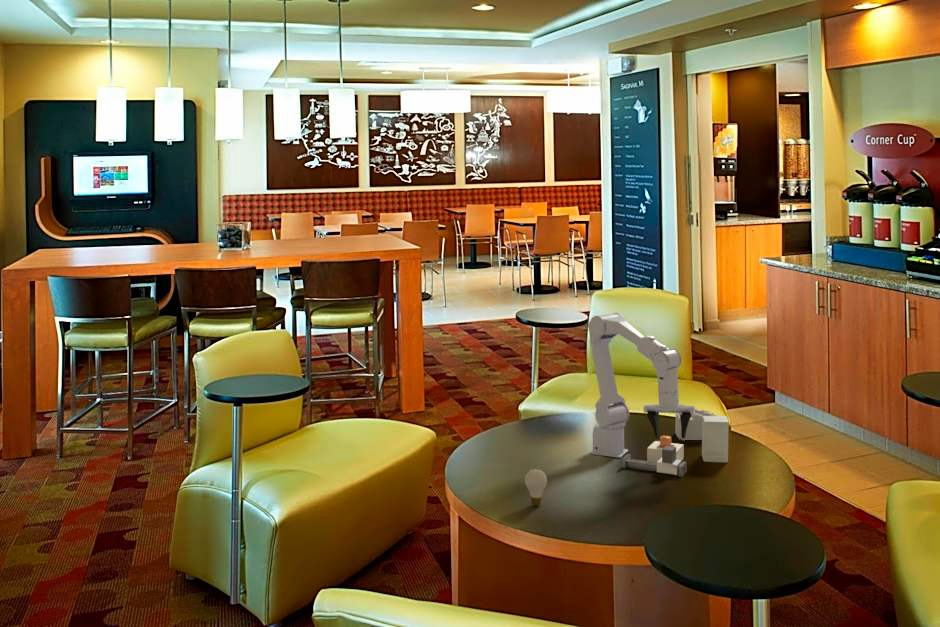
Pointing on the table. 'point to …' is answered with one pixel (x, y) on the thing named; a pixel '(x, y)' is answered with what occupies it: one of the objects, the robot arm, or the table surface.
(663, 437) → the plunger
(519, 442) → the table surface
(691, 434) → the lumpy-topped squat cylinder
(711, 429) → the supplement box
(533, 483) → the light bulb
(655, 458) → the white hollow block
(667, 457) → the carriage
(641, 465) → the rail
